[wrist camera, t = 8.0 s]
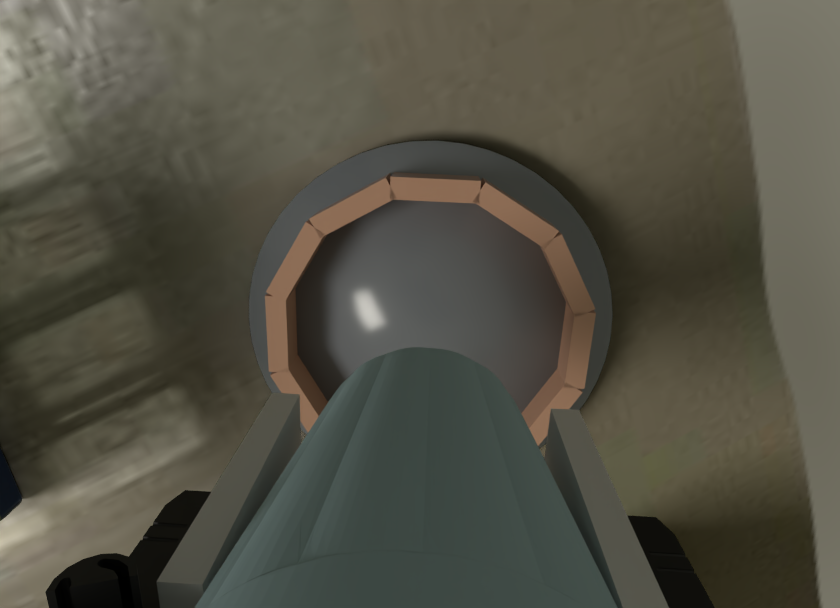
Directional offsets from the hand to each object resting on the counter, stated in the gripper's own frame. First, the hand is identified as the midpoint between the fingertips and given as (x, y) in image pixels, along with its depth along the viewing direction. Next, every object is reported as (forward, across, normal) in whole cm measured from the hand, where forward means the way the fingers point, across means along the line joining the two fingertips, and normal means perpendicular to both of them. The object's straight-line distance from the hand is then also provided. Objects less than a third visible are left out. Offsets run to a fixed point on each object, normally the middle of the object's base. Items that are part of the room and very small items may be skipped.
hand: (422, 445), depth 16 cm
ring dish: (+9, 0, 0) cm, 9 cm away
